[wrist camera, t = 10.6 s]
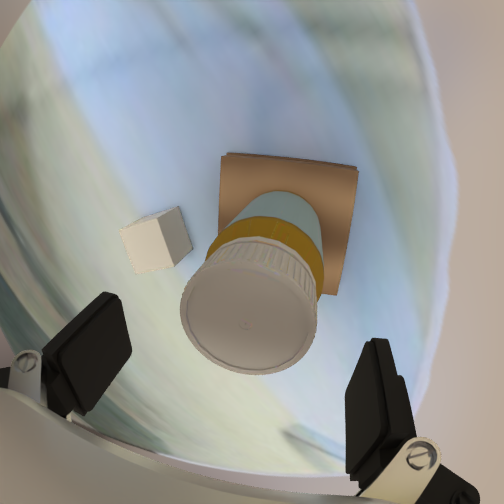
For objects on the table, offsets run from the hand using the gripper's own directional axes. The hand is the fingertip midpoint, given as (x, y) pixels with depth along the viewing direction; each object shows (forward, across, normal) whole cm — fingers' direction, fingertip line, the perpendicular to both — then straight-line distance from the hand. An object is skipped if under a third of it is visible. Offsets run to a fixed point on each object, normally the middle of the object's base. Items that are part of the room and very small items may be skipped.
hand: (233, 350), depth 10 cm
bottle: (+17, 0, +1) cm, 17 cm away
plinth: (+20, 0, +1) cm, 20 cm away
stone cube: (+20, +13, +4) cm, 24 cm away
